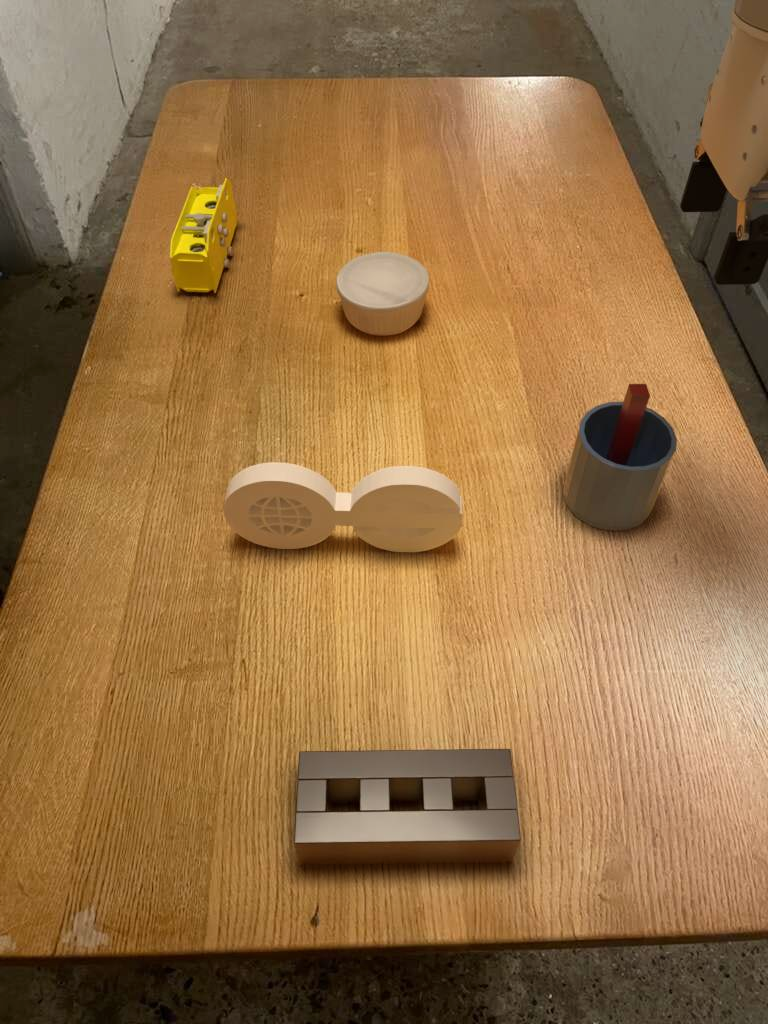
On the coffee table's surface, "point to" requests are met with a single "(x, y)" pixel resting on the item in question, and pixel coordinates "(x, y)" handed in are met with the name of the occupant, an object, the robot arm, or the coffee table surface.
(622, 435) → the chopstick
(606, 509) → the cup
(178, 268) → the yellow toy chassis
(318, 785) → the holder
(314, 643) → the coffee table surface
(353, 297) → the ramekin
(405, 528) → the contact lens case
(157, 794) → the coffee table surface
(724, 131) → the robot arm
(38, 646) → the coffee table surface
